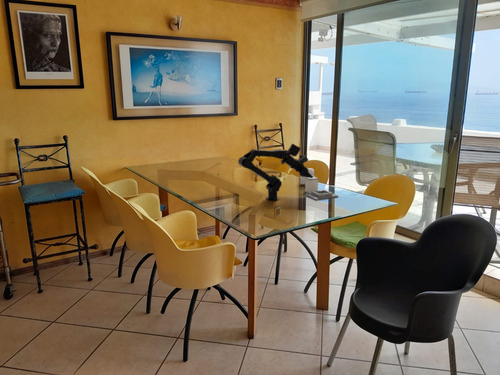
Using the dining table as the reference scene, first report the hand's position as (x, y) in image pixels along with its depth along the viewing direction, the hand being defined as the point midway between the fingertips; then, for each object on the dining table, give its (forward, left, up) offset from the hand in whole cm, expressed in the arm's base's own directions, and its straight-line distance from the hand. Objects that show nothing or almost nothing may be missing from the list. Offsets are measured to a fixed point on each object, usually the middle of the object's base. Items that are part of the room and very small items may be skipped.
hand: (310, 175), depth 243 cm
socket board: (+2, +8, -14) cm, 17 cm away
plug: (-11, +9, -15) cm, 20 cm away
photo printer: (-31, +19, -15) cm, 39 cm away
